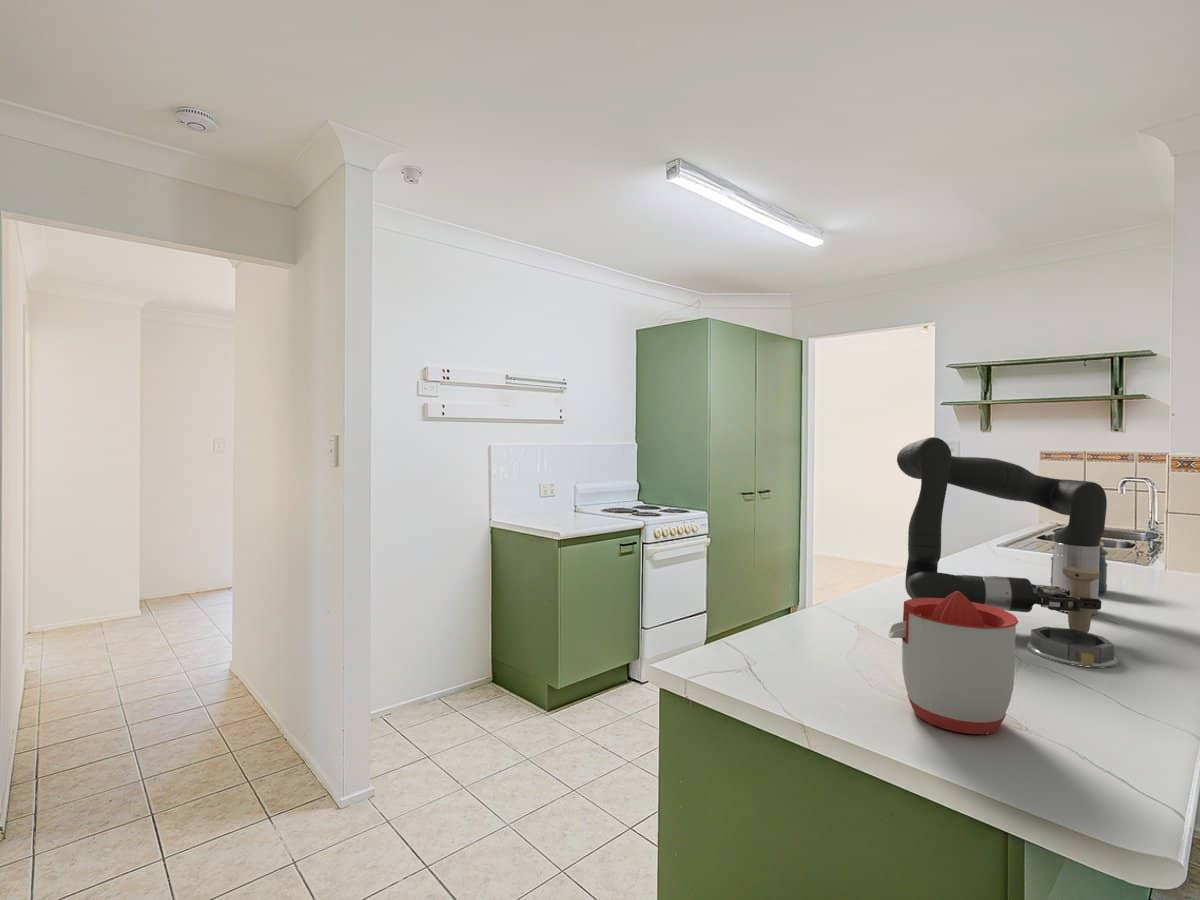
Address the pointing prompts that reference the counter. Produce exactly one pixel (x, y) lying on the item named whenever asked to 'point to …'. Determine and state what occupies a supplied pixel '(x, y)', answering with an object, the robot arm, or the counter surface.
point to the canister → (1102, 569)
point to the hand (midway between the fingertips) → (1093, 600)
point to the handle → (1080, 595)
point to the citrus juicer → (957, 662)
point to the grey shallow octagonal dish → (1072, 647)
